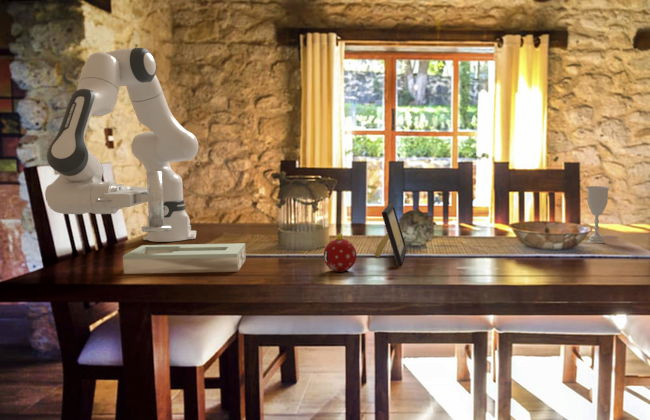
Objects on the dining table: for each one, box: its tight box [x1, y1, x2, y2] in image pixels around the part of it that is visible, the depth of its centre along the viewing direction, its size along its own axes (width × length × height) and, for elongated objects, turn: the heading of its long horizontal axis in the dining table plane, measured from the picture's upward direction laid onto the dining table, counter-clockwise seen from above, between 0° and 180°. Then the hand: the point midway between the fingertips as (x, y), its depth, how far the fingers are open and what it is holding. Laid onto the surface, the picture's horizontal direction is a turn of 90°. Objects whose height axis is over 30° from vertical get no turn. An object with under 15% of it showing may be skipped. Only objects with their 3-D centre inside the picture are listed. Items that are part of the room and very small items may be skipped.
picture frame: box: [374, 202, 407, 266], centre depth 162 cm, size 23×9×15 cm, turn 168°
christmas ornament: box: [323, 233, 358, 273], centre depth 144 cm, size 9×9×10 cm
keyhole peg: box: [141, 171, 172, 233], centre depth 152 cm, size 8×8×16 cm
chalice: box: [586, 185, 610, 244], centre depth 180 cm, size 7×7×18 cm
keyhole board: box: [122, 242, 247, 275], centre depth 154 cm, size 16×30×5 cm, turn 91°
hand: (158, 197), depth 152 cm, fingers closed on keyhole peg, 4 cm apart
